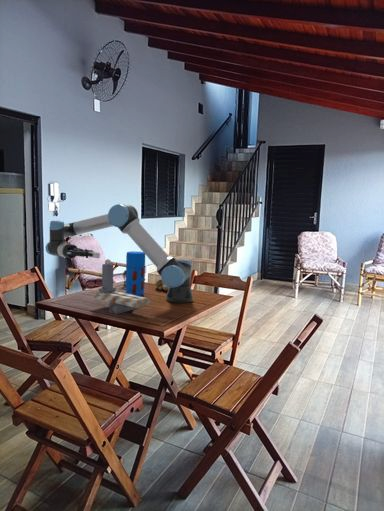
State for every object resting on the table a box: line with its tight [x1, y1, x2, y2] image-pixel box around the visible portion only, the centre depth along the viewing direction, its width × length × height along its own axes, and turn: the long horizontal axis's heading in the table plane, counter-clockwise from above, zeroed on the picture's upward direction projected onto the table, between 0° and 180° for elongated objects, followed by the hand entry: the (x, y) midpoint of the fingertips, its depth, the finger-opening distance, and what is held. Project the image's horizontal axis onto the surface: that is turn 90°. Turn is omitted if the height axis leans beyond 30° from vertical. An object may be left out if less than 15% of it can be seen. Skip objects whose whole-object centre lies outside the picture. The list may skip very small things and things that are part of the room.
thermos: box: [125, 250, 146, 297], centre depth 216 cm, size 11×11×25 cm
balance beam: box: [93, 290, 151, 315], centre depth 181 cm, size 28×12×8 cm, turn 57°
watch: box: [122, 269, 126, 287], centre depth 240 cm, size 6×8×11 cm
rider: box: [98, 258, 117, 293], centre depth 185 cm, size 4×8×18 cm, turn 147°
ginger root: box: [154, 278, 169, 291], centre depth 236 cm, size 16×16×8 cm
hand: (98, 255), depth 187 cm, fingers closed
